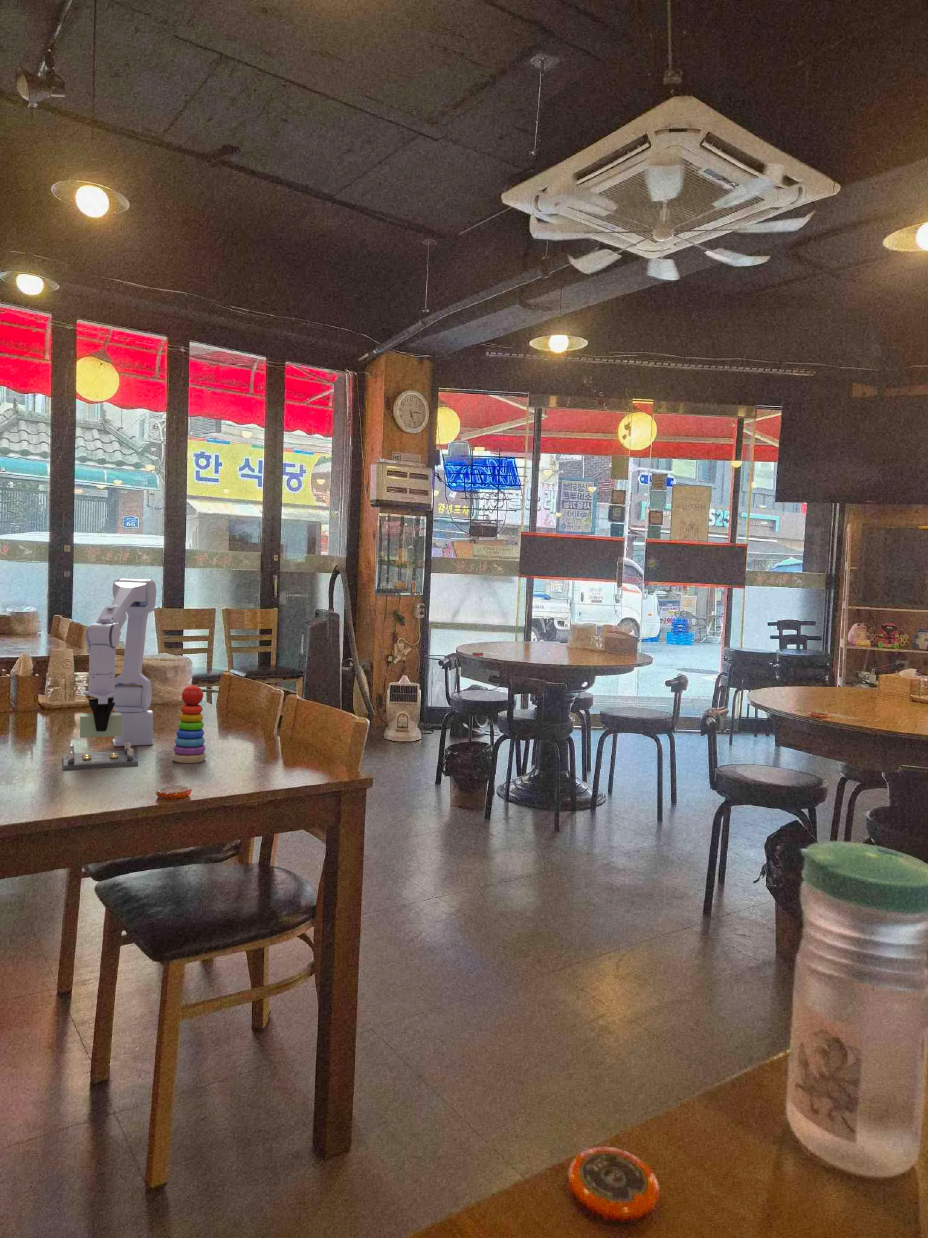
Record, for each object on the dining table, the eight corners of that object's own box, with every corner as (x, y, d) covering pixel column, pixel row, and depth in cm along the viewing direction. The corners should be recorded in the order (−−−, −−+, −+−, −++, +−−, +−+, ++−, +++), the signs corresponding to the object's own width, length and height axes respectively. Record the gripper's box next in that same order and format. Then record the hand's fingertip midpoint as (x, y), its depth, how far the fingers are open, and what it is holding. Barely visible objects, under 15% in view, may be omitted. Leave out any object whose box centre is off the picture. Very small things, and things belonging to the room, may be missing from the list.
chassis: (133, 754, 208) (133, 740, 208) (138, 765, 197) (138, 751, 197) (63, 757, 201) (63, 743, 201) (63, 770, 190) (63, 755, 190)
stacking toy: (174, 765, 199) (176, 688, 198) (169, 758, 206) (171, 683, 205) (208, 763, 203) (210, 687, 202) (202, 756, 210) (204, 682, 209)
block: (120, 732, 202) (120, 712, 202) (121, 736, 199) (121, 715, 199) (79, 734, 198) (80, 714, 198) (80, 737, 195) (80, 716, 195)
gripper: (82, 669, 203) (81, 724, 203) (84, 677, 190) (83, 735, 190) (114, 669, 206) (112, 723, 206) (117, 676, 193) (116, 734, 193)
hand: (100, 729), depth 199 cm, fingers closed on block, 4 cm apart
